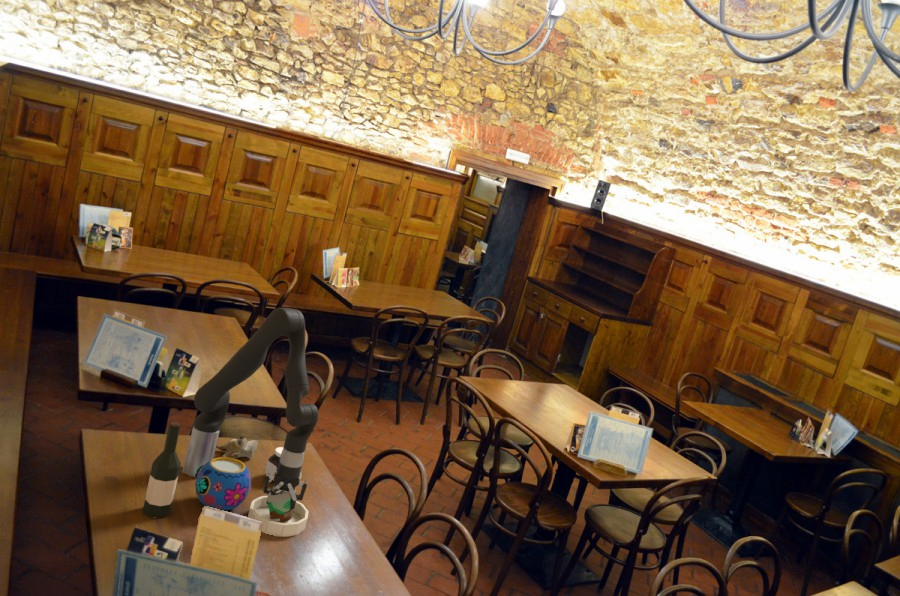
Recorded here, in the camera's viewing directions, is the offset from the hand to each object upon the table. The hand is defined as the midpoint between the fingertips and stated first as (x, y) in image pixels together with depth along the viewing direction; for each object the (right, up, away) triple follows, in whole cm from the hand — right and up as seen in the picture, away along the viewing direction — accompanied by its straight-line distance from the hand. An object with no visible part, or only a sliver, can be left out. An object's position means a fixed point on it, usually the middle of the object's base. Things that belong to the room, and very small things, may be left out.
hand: (280, 507), depth 242 cm
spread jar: (-6, +1, +32) cm, 32 cm away
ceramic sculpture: (-26, +8, +40) cm, 48 cm away
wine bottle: (-36, +2, -12) cm, 38 cm away
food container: (+2, -4, +1) cm, 5 cm away
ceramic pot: (-21, 0, +1) cm, 21 cm away
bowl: (-1, -5, +1) cm, 5 cm away
